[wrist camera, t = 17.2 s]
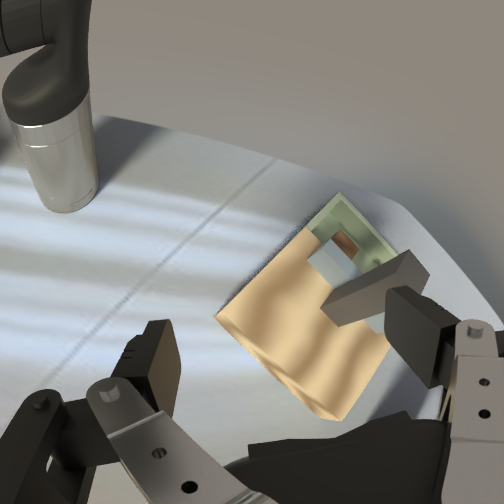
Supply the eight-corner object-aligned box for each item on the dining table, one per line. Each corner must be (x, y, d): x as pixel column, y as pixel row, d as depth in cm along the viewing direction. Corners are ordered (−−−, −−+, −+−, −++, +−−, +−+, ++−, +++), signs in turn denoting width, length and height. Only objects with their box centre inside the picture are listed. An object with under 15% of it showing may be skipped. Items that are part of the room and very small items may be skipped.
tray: (290, 241, 47) (303, 228, 43) (325, 205, 52) (339, 191, 48) (378, 334, 46) (398, 328, 42) (403, 290, 51) (421, 283, 47)
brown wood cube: (326, 245, 43) (340, 229, 45) (313, 256, 47) (327, 240, 49) (346, 266, 43) (359, 249, 45) (331, 275, 47) (344, 258, 49)
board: (213, 317, 39) (222, 309, 35) (290, 241, 47) (305, 226, 43) (321, 418, 39) (341, 421, 34) (378, 334, 46) (400, 328, 42)
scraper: (290, 277, 39) (356, 229, 27) (314, 250, 42) (381, 198, 29) (364, 353, 38) (447, 335, 26) (383, 323, 41) (461, 296, 29)
